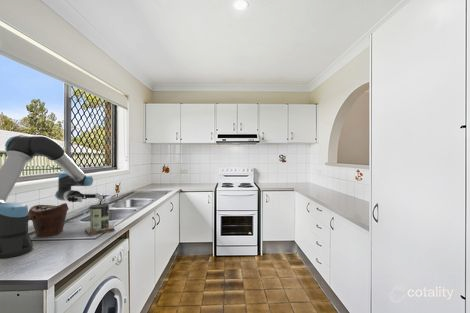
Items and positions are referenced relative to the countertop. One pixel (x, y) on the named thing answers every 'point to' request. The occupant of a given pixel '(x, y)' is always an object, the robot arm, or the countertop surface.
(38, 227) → the brown clay flowerpot
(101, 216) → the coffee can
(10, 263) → the countertop surface
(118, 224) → the countertop surface
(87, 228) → the walnut board
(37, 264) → the countertop surface
